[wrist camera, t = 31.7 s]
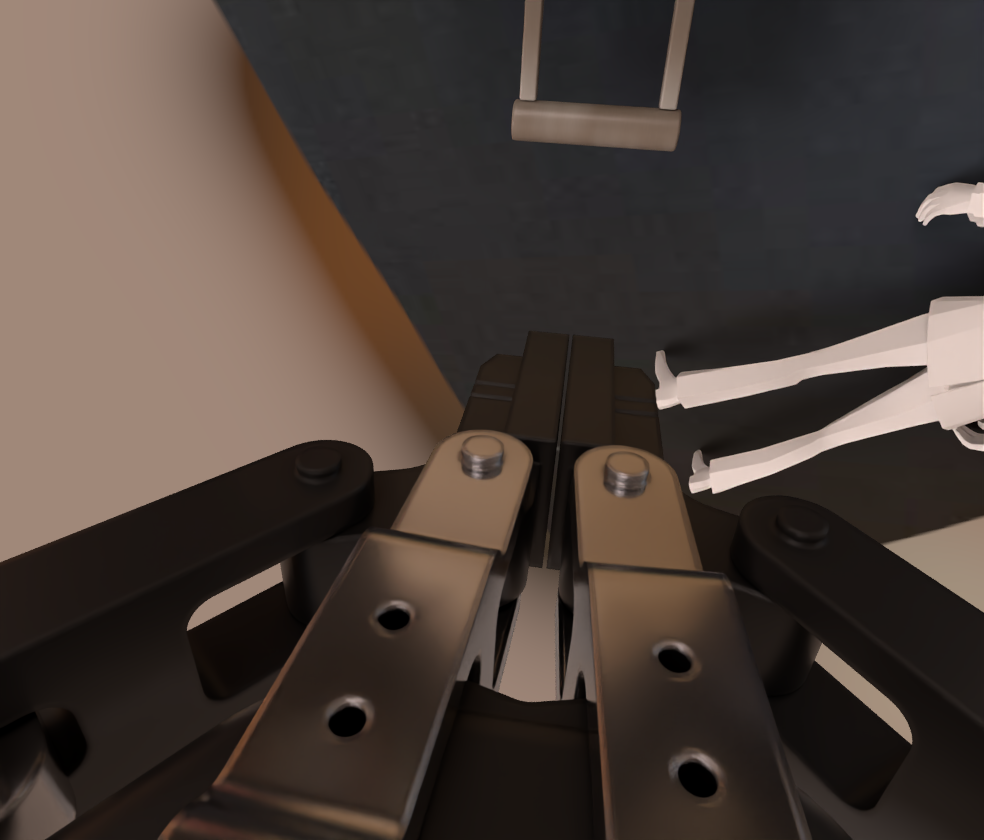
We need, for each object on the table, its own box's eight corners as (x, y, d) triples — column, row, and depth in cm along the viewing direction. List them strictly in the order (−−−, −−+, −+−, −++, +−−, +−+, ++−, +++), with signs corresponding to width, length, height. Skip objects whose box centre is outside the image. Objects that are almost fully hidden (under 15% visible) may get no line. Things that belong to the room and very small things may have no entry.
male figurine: (716, 481, 40) (1319, 380, 28) (714, 555, 35) (1439, 469, 23) (641, 275, 34) (1356, 44, 23) (625, 329, 29) (1525, 70, 18)
